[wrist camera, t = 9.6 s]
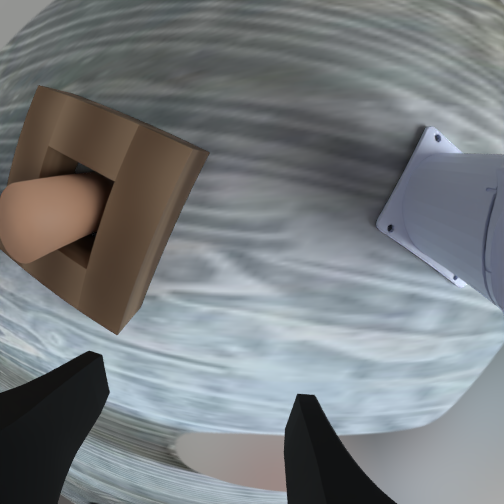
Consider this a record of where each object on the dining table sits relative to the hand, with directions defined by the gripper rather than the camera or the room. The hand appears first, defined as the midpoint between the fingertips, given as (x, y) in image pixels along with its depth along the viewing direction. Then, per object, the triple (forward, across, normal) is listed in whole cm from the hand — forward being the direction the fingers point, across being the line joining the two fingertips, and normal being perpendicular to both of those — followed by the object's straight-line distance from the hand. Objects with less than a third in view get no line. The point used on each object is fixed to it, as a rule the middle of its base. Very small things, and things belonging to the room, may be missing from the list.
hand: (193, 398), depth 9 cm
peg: (+10, +10, -5) cm, 15 cm away
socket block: (+10, +10, -5) cm, 15 cm away
